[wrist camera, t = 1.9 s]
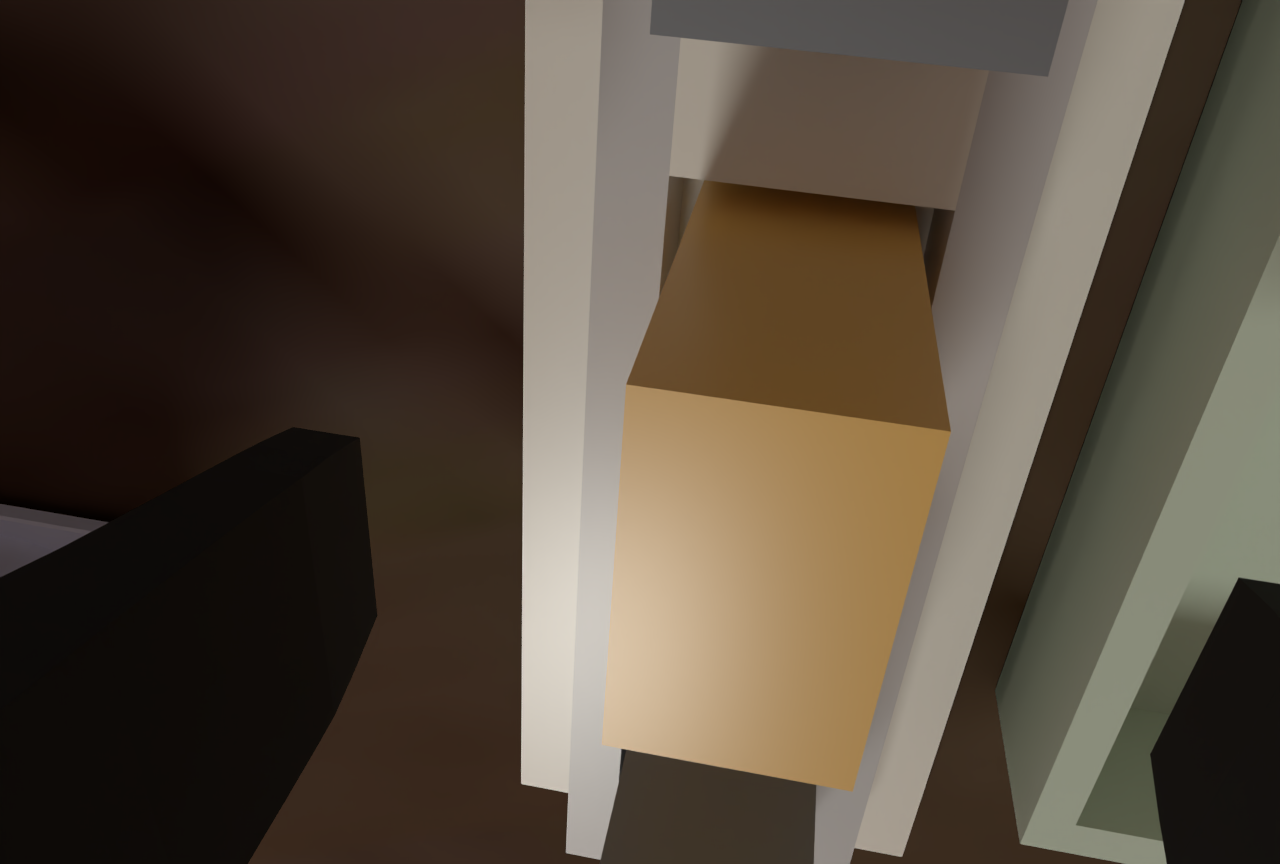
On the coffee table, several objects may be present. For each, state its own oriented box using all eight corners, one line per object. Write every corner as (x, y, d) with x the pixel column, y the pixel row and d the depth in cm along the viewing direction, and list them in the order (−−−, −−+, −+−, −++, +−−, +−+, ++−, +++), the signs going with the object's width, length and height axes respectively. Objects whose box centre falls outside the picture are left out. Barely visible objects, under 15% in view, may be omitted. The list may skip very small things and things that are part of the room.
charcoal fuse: (649, 752, 18) (578, 1082, 13) (666, 577, 16) (591, 899, 11) (785, 777, 18) (762, 1123, 13) (822, 603, 15) (810, 944, 11)
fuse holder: (534, 742, 20) (497, 853, 18) (560, -785, 9) (471, -959, 7) (899, 810, 19) (905, 935, 17) (1399, -772, 8) (1582, -962, 6)
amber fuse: (681, 442, 14) (601, 744, 10) (710, 165, 12) (625, 385, 8) (851, 468, 14) (852, 792, 10) (912, 188, 12) (951, 432, 7)
